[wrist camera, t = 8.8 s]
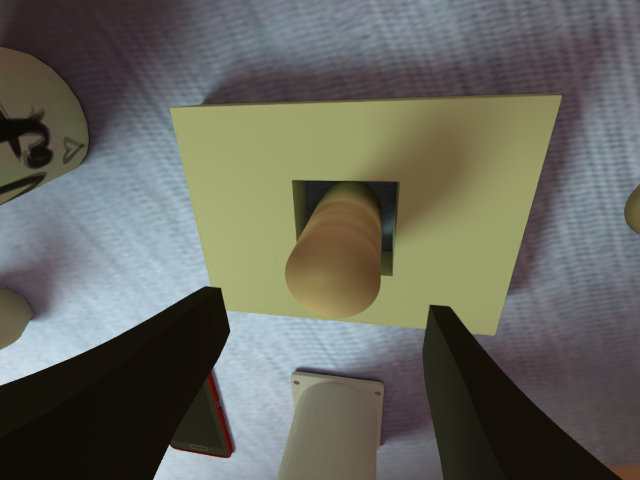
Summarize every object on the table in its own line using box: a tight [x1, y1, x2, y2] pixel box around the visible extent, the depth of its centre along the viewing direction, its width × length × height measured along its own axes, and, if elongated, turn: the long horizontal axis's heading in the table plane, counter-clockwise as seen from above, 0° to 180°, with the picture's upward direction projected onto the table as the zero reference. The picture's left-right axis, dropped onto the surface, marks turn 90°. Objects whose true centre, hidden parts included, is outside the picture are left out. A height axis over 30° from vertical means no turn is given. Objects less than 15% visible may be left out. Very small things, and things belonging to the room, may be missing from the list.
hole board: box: [170, 94, 562, 336], centre depth 19 cm, size 13×18×3 cm
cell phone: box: [170, 372, 233, 458], centre depth 33 cm, size 8×15×1 cm, turn 3°
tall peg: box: [285, 181, 382, 318], centre depth 16 cm, size 4×4×8 cm
